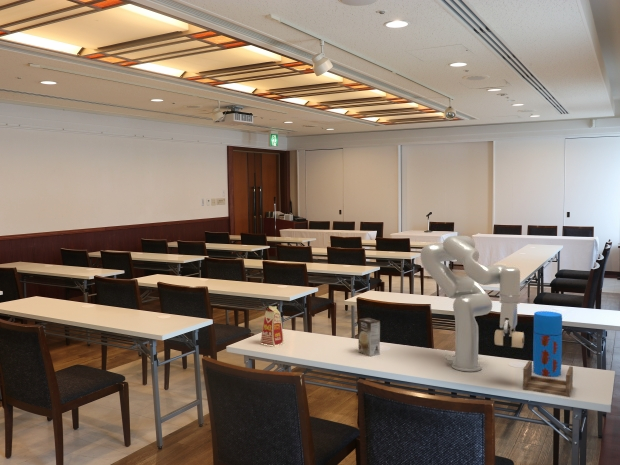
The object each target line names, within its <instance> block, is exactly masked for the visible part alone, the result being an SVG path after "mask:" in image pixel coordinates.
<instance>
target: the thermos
mask: <svg viewBox="0 0 620 465" xmlns="http://www.w3.org/2000/svg"><path fill="white" fill-rule="evenodd" d="M532 338H533V339H532V340H533V347H532V350H533V351H532V353H533V354H532V372H533V373H534V374H535V375H536V376H539V377H545V378H555V377H560V376H561V375H562V374H561V373H562V351H563V350H562V348H563V346H562V345H563V343H562V342H563V315H562V313H559V312H557V311H555V312H554V311H550V310H549V311H547V310H546V311H545V310H540V311H535V312H534V314H533V337H532Z"/></svg>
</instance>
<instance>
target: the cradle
mask: <svg viewBox="0 0 620 465" xmlns="http://www.w3.org/2000/svg"><path fill="white" fill-rule="evenodd" d="M522 369H523V372H522V373H523V378H522V379H523V380H522V390H525V391H530V392H531V391H532V392H537V393H544V394H551V395H556V396H562V397H569V398H570V396H571V393H572V390H573V387H574V385H573V384H574V381H573V380H574V379H573V376H574V367H573V366H571V365H570V366H569V367H568V369H567V371H566V374H565V379H559V378H552V377H546V376H539V375H533V360H528V361H527V363H526V364H525V366H524V367H523V368H522Z"/></svg>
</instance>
